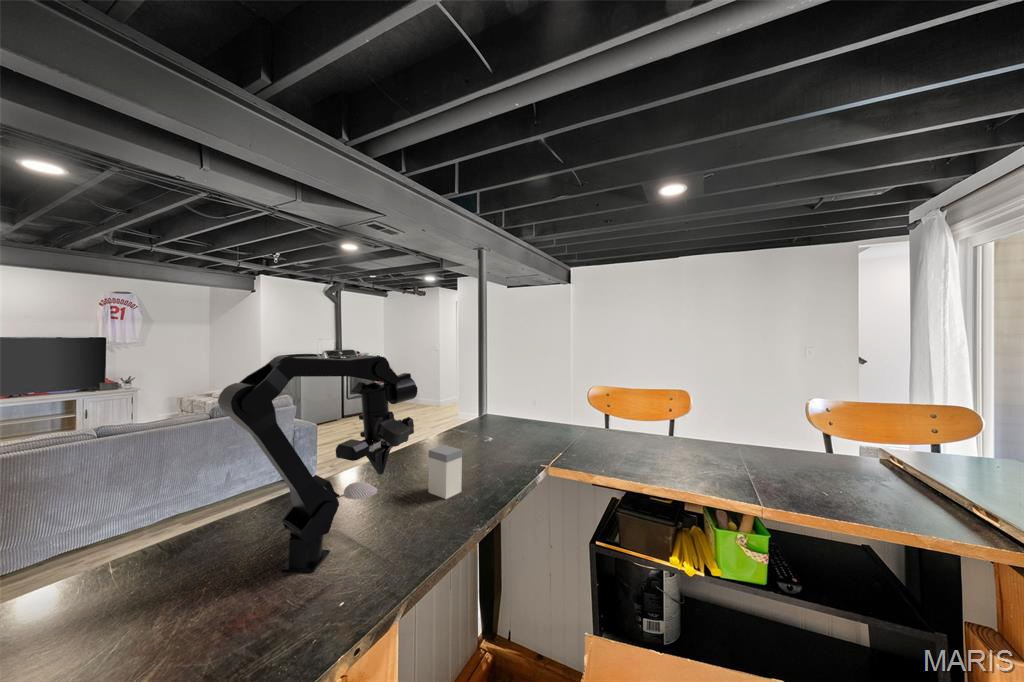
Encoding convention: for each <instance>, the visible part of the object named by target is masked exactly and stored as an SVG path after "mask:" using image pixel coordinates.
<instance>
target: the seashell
mask: <svg viewBox="0 0 1024 682" xmlns="http://www.w3.org/2000/svg"><path fill="white" fill-rule="evenodd" d="M377 493H378V489H377V488H376V487H375V486H373V485H372V484H369V483H367V482H363V481H362V482H361V481H355V482H351V483H349V484H348V485H347V486H346V487H345V488H344V490H343V497H346V498H347V499H350V500H361V499H366V498H370V497H373V496H374V495H375V494H377Z"/></svg>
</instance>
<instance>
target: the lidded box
mask: <svg viewBox="0 0 1024 682" xmlns="http://www.w3.org/2000/svg"><path fill="white" fill-rule="evenodd" d="M462 462H463V449H461V448H457V447H454V446H450V445H446V444H443V445H440V446H436V447H435V448H430V449H428V493H429V494H431V495H435V496H437V497H439V498H442V499H445V500H447V499H449V498H452V497H453V496H455V495H457V494H460V493H462V483H463V482H462V480H463V479H462V477H463V475H462V473H463V472H462V471H463V470H462V469H463V468H462V467H463V466H462V465H463V463H462Z"/></svg>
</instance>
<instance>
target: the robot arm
mask: <svg viewBox="0 0 1024 682" xmlns="http://www.w3.org/2000/svg"><path fill="white" fill-rule="evenodd" d="M294 377H295V378H296V377H297V378H298V377H299V378H300V377H305V378H307V377H311V378H312V377H315V378H316V377H319V378H321V377H347V378H353V379H358V380H362V381H363V380H365V381H371V383H365V382H362V381H361V382H360V381H358V382H357V383H356V385H355V386H354V387H353V388H352V389H351V391H350V392H351V393H352V394H356V395H360V397H361V398H360V400H361V409H362V410H361V414H359V415H358V419H359V420H361V421H362V422H363V423H362V424H363V431H361V432H360V433H359V435H360V437H361V438H364V439H363V440H358V439H353V438H351V439H347V440H346V441H344V442H341V443H338V444H337V446H336V447H335V457H336V458H337V459H342V460H347V461H351V462H353V461H358V460H360V459H362V458H365V457H366V458H367V460H368V461H369V462H370V464H371V466H372V467H373V469H374V470H375V472H376V473H377V474H378V475H383V474H384V472H385V470H386V465H387V463H388V462H387V461H388V457H389V454H390V452H391V450H392V449H393V448H394V447H398V446H400V445H402V444H403V443H407V442H408V440H409V438H410V435H412V434H415V430H414V429H415V428H414V427H415V424H414V423H415V422H414V419H413V418H412V417H410V416H408V417H404V418H403V419H395V414H394V413H393V411H390V408H389V404H391V405H396V404H401V403H403V402H406V401H410V400H413V399H415V398H416V397H417V395H418V386H417V385H416V382H415V380H414V379H413V378H412V375H411V373H409V372H405V373H404V372H403V373H400V374H397V373H396V372H395V371H394V370H393V369H392V368H391V366H390V363H389V360H388V359H387V358H386V357H385V356H380V355H378V356H377V355H368V354H365V355H358V356H351V357H348V358H323V357H322V358H319V357H318V358H317V357H297V356H296V357H294V356H288V355H276V356H275V357H273V358H272V359H271V360H270V361H269V362H267V363H266V364H265V365H263V366H262V367H260V368H258V369H257V370H255V371H254V372H253V371H252V373H250V374H248V375H247V376H245V377H244V378H243V379H241V380H240V381H239V382H234V383H231V384H229V385H227V386H225V388H223V390H222V391H221V392H220V394H219V397H218V399H217V403H218V406H219V408H220V410H222V411H223V412H224V413H225V414H226V415H227V416H228V417H229V418H230V419H232V420H233V421H234V422H235V423H236V424H238V425H239V426H240V427H241V428H243V430H245V431H246V432H248V433H249V434H250V435H251V437H252V438H253V439H254V441H255V443H256V444H257V445H258V447H259V448H260V450H261V451H262V452H263V454H264V455H265V456H266V457H267V459H268V461H269V462H270V463H271V464H272V466H273V467H274V468H275V470H276V471H277V473H278V474H279V475H280V478H281V479H282V480H283V482H284V483H285V484H286V485H287V487H288V489H289V497H290V500H291V503H292V507H291V508H290V509H289V510H288V512H287V513H286V514H285V515H284V517H283V518H282V520H281V524H282V525H283V528H284V529H285V530H287V531H288V532H289V538H288V560H287V561H286V562H285V563H284V564H283V565H282V566H281V567H280V571H281V572H297V573H298V572H302V573H303V572H306V573H309V572H310V573H311V572H314V571H315V570H316V569H318V567H319V566H320V565H321V564H322V563H323V561H324V560H325V559H326V558H327V557H328V556H329V555H330V553H331V551H330V549H323V548H324V546H323V545H324V535H327V534H329V532H330V530H331V527H332V524H333V521H334V518H335V516H336V515H337V512H338V509H339V507H340V502H339V500H338V497H340V494H339V493H337V492H336V491H335V489H334V488H333V484H332V483H331V481H330V480H327V479H326V478H324V477H321V476H319V475H317V474H314V475H313V474H311V472H310V470H309V469H308V467H307V466H306V464H305V463H304V461H303V460H302V459H301V457H300V455H299V454H298V453H297V451H296V449H295V448H294V447H293V445H292V444H291V442H290V441H289V439H288V438H287V436H286V435H285V433H284V432H283V430H282V429H281V427H280V425H279V424H278V420H277V412H276V407H275V406H274V403H273V401H274V399H276V398H277V397H279V395H280V394H282V392H283V390H284V389H285V387H287V385H288V384H289V382H291V380H292V379H294ZM372 381H373V382H372ZM378 382H379V383H381V384H379V383H378Z"/></svg>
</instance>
